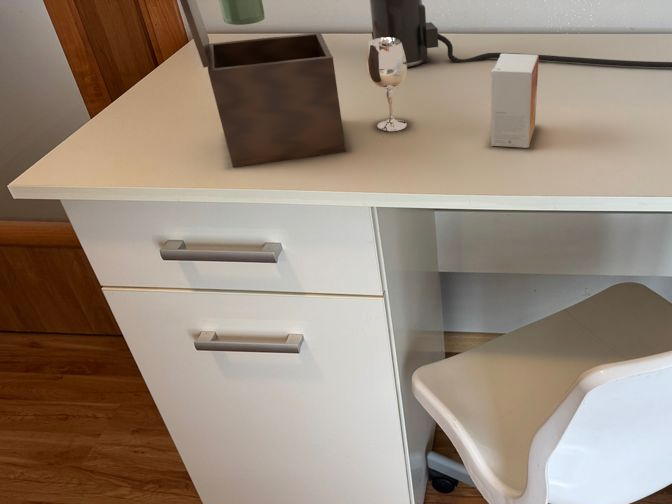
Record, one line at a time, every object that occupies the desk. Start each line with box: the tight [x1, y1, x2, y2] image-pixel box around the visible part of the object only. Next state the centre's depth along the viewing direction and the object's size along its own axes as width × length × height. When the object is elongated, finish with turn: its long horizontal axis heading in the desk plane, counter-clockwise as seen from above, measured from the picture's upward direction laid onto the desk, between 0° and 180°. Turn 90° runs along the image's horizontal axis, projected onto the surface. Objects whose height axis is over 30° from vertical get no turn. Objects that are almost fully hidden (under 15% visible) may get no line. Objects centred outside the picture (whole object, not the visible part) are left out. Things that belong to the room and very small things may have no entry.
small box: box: [490, 52, 540, 149], centre depth 95 cm, size 8×6×10 cm
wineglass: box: [365, 37, 408, 132], centre depth 98 cm, size 6×6×12 cm
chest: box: [207, 32, 347, 168], centre depth 94 cm, size 16×12×13 cm
